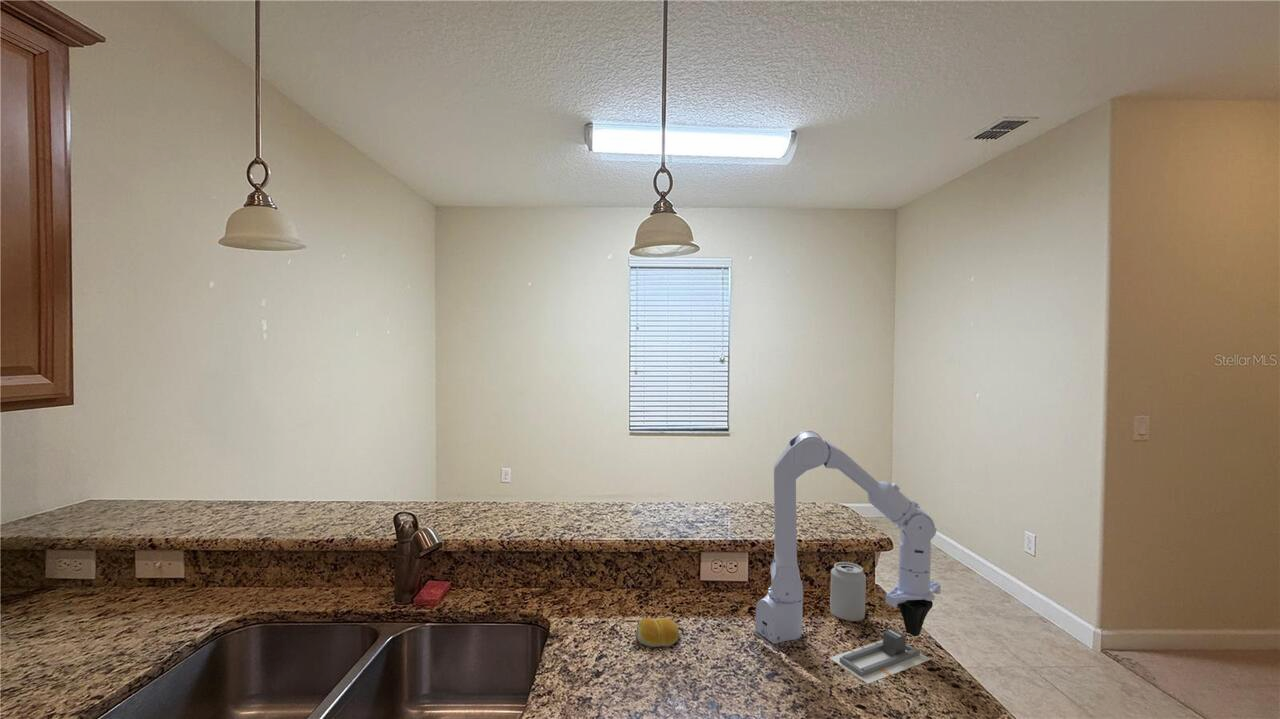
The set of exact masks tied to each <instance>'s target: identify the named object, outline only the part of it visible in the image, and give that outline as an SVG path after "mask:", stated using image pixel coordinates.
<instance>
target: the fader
mask: <svg viewBox="0 0 1280 719" xmlns="http://www.w3.org/2000/svg"><path fill="white" fill-rule="evenodd" d="M882 634H883V636H882V640H883V652H884V653H886V654H887V655H889V656H891V657H893V656H896V655H899V654H901V653H904V652H905V647H906V644H907V643H906V641H907V637H906V636H907V635H906V634H904V633H902V632H900V631H898V630H896V629H895V628H892V629H888V630H885V631H883V632H882Z"/></svg>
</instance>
